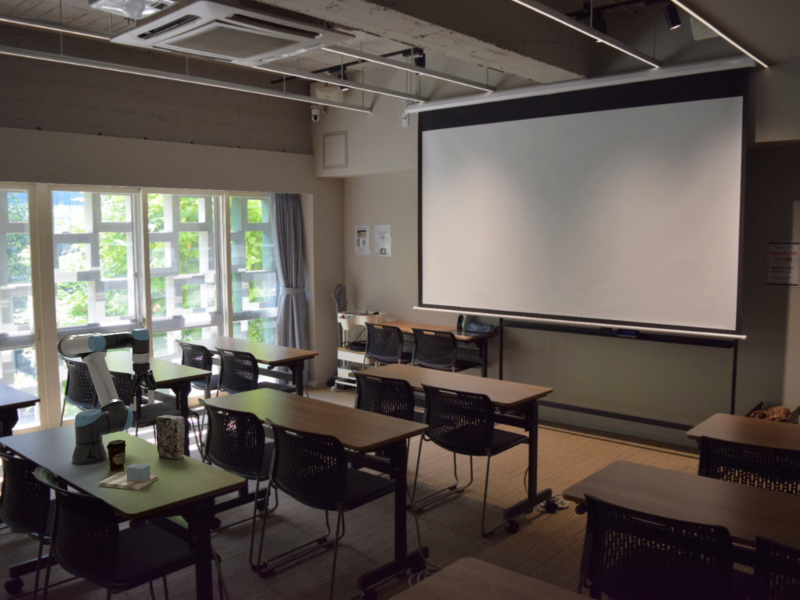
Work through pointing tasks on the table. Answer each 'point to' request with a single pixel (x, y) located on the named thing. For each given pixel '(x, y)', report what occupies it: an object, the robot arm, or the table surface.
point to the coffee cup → (116, 455)
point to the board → (125, 481)
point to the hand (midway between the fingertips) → (142, 407)
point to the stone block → (170, 436)
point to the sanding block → (138, 473)
